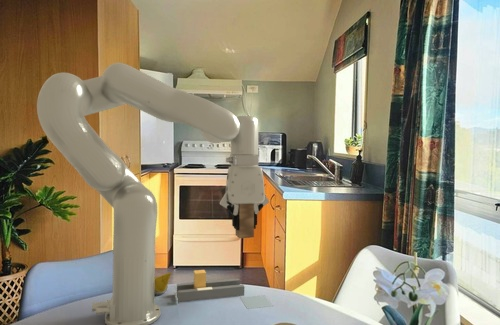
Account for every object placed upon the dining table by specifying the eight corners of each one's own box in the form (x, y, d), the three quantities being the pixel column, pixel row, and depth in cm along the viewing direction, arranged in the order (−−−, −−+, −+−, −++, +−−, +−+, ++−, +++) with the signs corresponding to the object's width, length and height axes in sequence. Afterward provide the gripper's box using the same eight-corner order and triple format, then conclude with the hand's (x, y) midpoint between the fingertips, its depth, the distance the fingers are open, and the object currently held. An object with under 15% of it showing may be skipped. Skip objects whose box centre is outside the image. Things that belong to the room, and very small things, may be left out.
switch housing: (178, 303, 87) (178, 292, 87) (176, 294, 93) (176, 283, 93) (244, 297, 92) (244, 285, 92) (238, 288, 98) (238, 278, 98)
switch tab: (194, 292, 90) (195, 273, 90) (193, 289, 93) (193, 270, 93) (205, 291, 91) (205, 272, 91) (204, 288, 94) (204, 269, 94)
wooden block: (239, 238, 88) (239, 201, 88) (235, 235, 92) (235, 199, 92) (253, 237, 89) (253, 200, 89) (249, 234, 93) (249, 198, 93)
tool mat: (247, 310, 84) (247, 308, 84) (240, 299, 91) (240, 297, 91) (273, 307, 86) (273, 305, 86) (264, 296, 93) (264, 295, 93)
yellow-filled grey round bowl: (163, 289, 98) (181, 270, 94) (156, 303, 93) (176, 284, 89) (148, 279, 97) (166, 260, 93) (140, 293, 92) (159, 274, 88)
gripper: (218, 162, 84) (218, 233, 84) (278, 161, 89) (278, 229, 90) (211, 161, 91) (211, 227, 91) (268, 161, 96) (267, 224, 97)
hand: (244, 227), depth 91 cm, fingers closed on wooden block, 4 cm apart
